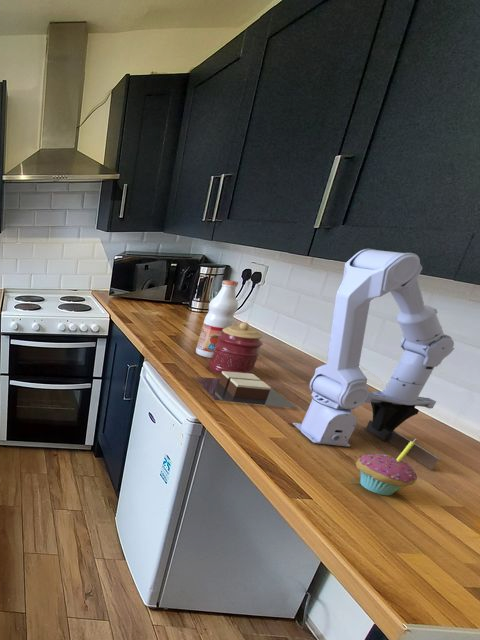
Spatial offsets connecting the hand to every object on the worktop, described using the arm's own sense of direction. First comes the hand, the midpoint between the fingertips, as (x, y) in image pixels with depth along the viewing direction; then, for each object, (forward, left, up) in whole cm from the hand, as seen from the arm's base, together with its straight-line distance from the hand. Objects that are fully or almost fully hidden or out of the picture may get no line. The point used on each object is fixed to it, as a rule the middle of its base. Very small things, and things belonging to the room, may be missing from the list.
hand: (381, 429), depth 101 cm
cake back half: (+23, +24, -1) cm, 33 cm away
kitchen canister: (+38, +20, -2) cm, 43 cm away
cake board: (+20, +24, -2) cm, 31 cm away
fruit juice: (+56, +20, -2) cm, 59 cm away
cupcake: (-25, +18, -2) cm, 31 cm away
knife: (-6, 0, -2) cm, 6 cm away
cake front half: (+17, +24, -1) cm, 29 cm away
